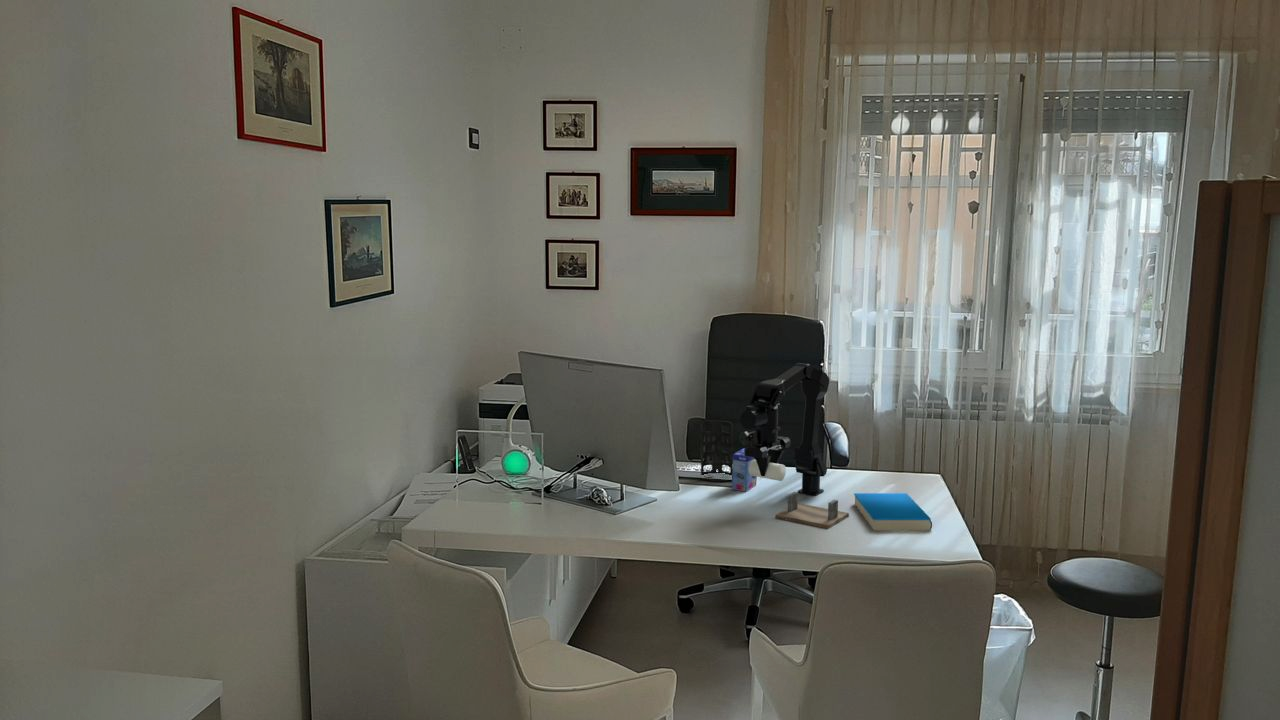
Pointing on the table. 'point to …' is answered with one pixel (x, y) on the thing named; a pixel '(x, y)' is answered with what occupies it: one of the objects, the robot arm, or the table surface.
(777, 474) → the cylinder
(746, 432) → the robot arm
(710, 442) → the holder
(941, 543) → the table surface
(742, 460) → the blue purple upright box
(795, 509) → the roll holder
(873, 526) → the book
